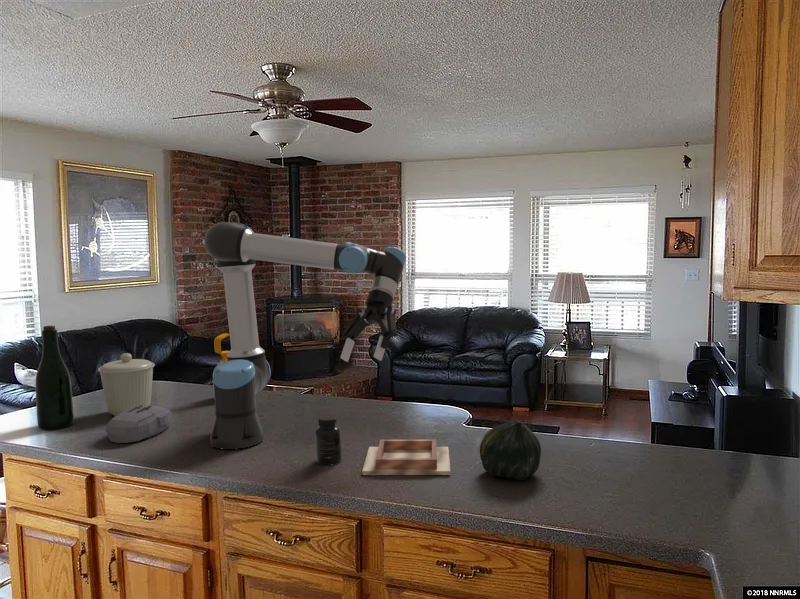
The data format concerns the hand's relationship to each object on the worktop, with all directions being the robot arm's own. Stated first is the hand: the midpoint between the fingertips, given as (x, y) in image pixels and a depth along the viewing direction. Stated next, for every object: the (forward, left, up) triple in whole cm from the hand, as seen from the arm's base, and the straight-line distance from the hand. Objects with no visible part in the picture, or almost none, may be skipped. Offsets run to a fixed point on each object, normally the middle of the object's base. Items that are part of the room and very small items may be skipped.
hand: (360, 359), depth 174 cm
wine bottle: (-102, +18, -25) cm, 107 cm away
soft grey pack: (-71, +9, -25) cm, 75 cm away
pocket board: (+14, -15, -25) cm, 32 cm away
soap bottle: (-57, +52, -25) cm, 82 cm away
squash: (+40, -23, -25) cm, 52 cm away
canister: (-85, +33, -25) cm, 95 cm away
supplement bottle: (-7, -14, -25) cm, 29 cm away
